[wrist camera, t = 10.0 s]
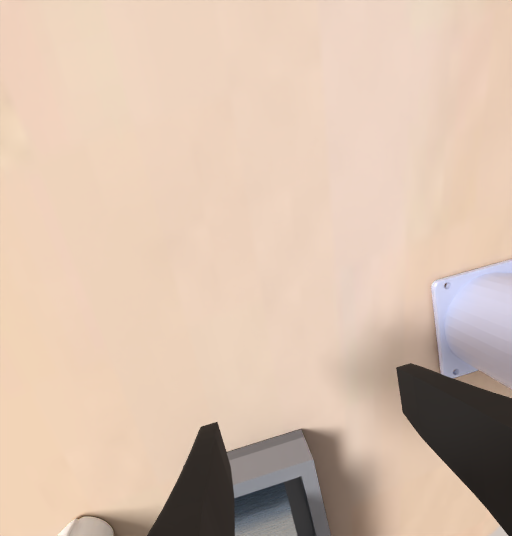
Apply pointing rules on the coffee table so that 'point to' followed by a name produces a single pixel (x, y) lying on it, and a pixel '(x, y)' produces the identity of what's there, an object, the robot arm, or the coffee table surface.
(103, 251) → the coffee table surface
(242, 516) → the block
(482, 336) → the robot arm
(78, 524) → the photo printer
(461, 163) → the coffee table surface
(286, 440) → the lock cradle
